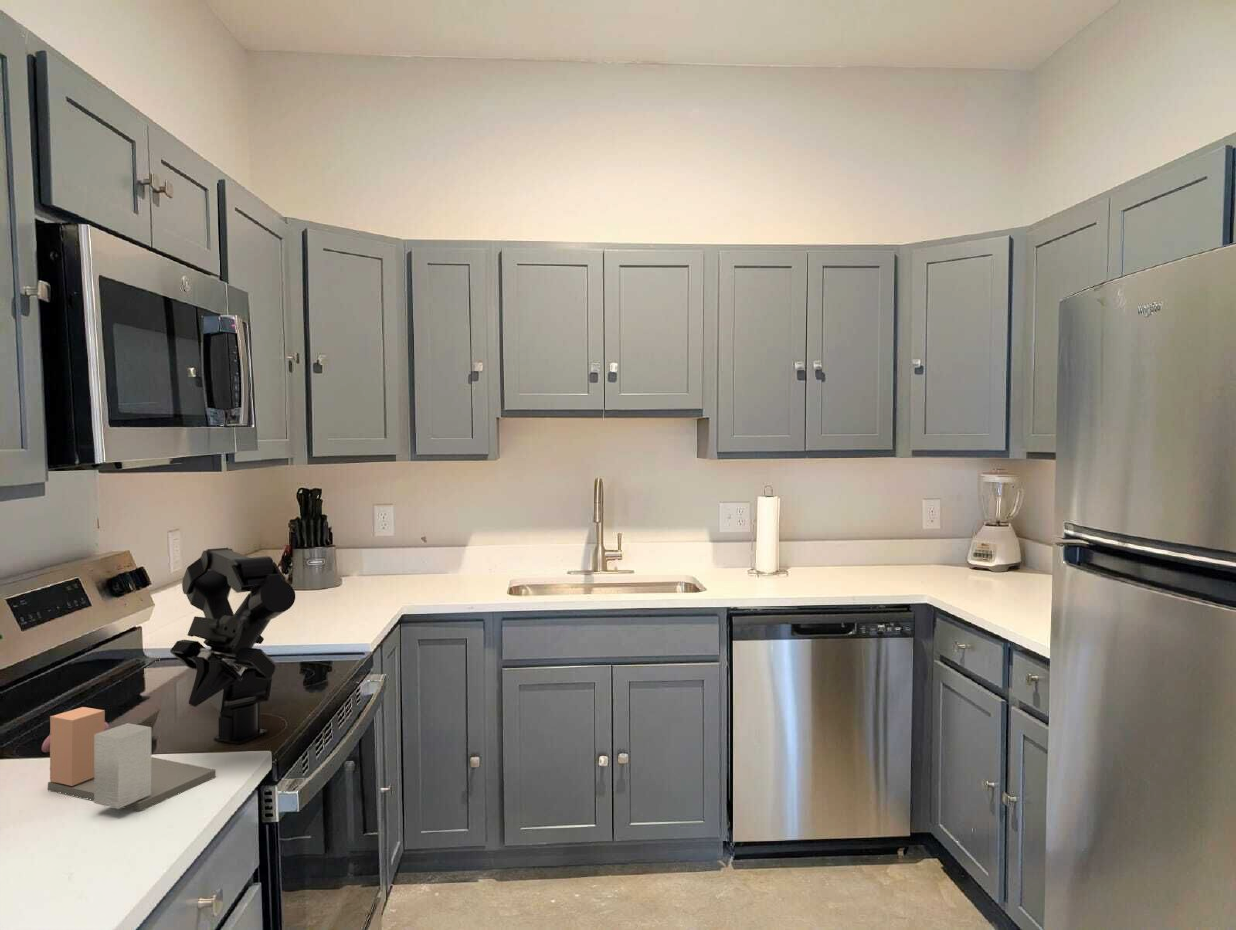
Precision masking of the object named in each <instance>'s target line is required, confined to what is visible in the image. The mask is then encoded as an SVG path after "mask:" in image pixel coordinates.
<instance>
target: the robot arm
mask: <svg viewBox="0 0 1236 930" xmlns="http://www.w3.org/2000/svg"><path fill="white" fill-rule="evenodd" d="M286 579H287V578H286V576H285V575H284V574H283V572H282V571H281V570H280V569H279V567H278V565H277V563H276V562H275V561H274V560H273V558H272V557H271V556H269V555H268V556H267V555H265V556H254V557H249V556H246V555H243V554H241V553H240V552H236V551H234V549H232V548H229V547H219V548H218V547H216V548H208V549H206V550H203V551H202V553H201V555H200V557H199V558H198V559H197V560H195V561H193V563H191V564H190V565H189V566H187V567H186V570H185V572H184V574H183V577H182V581H181V587H182V593H183V594H184V595H186V597H187V599H188V601H189V604H190V605H191V606H193V607H195V608H196V609H198V610H200V611H202V612H203V615H204V617H203V616H193V619H192V622H191V624H190V627H189V629H188V632H187V636H188V637H191V638H193V637H196V638H200V639H204V640H203V644H204V645H206V646H207V647H209V648H206V647H205V646H204V645H202V643H201V642H199V641H198V640H190V639H181V640H177V641H176V642H175V643H174V645H173V646H172V647H171V649H170V650H169V653H171V654H172V655H173V656H174V657H175V658H176V659H178V660H179V661H180V662H182V663H183V664H184V665H185V666H186V667H188V668H189V669H190V670H193V671H196V674H195V679H194V682H193V686H192V690H191V693H190V695H189V700H188V705H189V706H191V707H193V708H194V707H198V706H199V705H201V704H202V703H204V702H205V701H208V700H209V699H210V698H211V705H212V706H213V708H215V709H216V710H218V711H219V716H218V734H217V735H215V736H214V737H213V741H219V742H223V743H224V742H225V743H230V744H237V745H240V744H244V743H246V742H248V741H250V740H253V739H255V738H257V737H259V736H262V735H265V734H267V731H268V730H267V729H263V728H261V703H263V702H265V703H266V702H269V699H270V696H271V689H272V682H273V676H274V674H275V672H276V662H275V661H274V660H273V659H272V658H271V657H270V656H269V655H268V654H267V653H266V652H265V651H264V650H263V649H261V648H257V647H256V648H255V647H254V646H255V644H260V645H261V644H262V643H263V642H264V639H265V638H264V637H263V636H262V633H263V632H264V631H265V629H266V628H267V626H268V625H269V623H270V622H271V620H274V619H275V618H277V617H279V616H280V615H282V614H283V613H285V612H286V611H288V610H290V609H291V607H292V606H293V605H294V603H295V601H296V591H295V590H294V588H293V586H292V585H291V584H290V583H289V582H287V581H286ZM231 589H232V590H233V591H235V592H236V593H246V592H250V593H248V594H247V595H246V597H245V598H244V599H243V601H242V602H241V604H240V605H239V606H238V608H237V609H236V611H235V612H234V611H233V607H232V606H231V603H230V600H229V596H230V593H231Z"/></svg>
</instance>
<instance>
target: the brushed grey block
mask: <svg viewBox="0 0 1236 930" xmlns="http://www.w3.org/2000/svg"><path fill="white" fill-rule="evenodd" d="M151 757H152V727H151V726H148V725H147V726H146V725H141V724H140V725H139V724H134V723H129V722H127V723H124V724H121V725H118V726H115V727H112V728H109V730H106V731H103V732H100V733H97V734H94V801H93V802H94V803H93V804H95V805H101V806H104V807H109V808H113V809H117V810H119V809H122V807H124V806H126V805H128V804H131V803H133V802H135V801H137V800H140V799H142V798H144V797H147V796H149V795H151Z"/></svg>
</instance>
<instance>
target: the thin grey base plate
mask: <svg viewBox="0 0 1236 930" xmlns="http://www.w3.org/2000/svg"><path fill="white" fill-rule="evenodd" d="M216 777H217V775H216V769H214V768H210V767H204V766H199V765H192V764H188V763H184V762H178V761H174V760H173V761H172V760H167V759H165V758H164V759H162V758H159V757H158V758H157V757H153V756H151V795H149V796H147V797H144V798H142V799H140V800H137V801H135V802H133V803H131V804H128V805H126V806H124V808H123V807H121V809H125V810H126V809H127V810H130V809H131V810H130V811H134V812H135V811H136V812H142V811H144V810H146V809H148V808H150V807H152V805H153V806H154V805H157V804H160V803H161V802H163V801H166V800H167V799H166V798H168V799H171V798H172V796H173V797H175V796H177V795H179V794H181V793H183V792H186V791H188V790H191V789H192V788H194V787H197V786H199V785H201V784H203V783H205V782H207V781H210V780H212V779H214V778H216ZM48 789H49V790H50V792H53V791H54V793H58V792H61V793H60V794H62V793H64V794H63V795H66V794H67V796H71V795H74V796H73V797H75V796H78V797H77V798H79V797H81V798H80V799H83V798H88V799H91V800H90V801H92V800H94V778H91V779H89V780H86V781H84V782H81V783H78V784H76V785H73V786H70V785H65V784H61V783H57V782H52V781H48V782H47V790H48ZM49 790H48V791H49ZM185 790H186V791H185ZM180 792H181V793H180ZM65 793H66V794H65ZM178 793H179V794H178ZM176 794H177V795H176ZM174 795H175V796H174ZM88 799H87V800H88ZM165 799H166V800H165Z"/></svg>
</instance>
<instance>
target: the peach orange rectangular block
mask: <svg viewBox="0 0 1236 930" xmlns="http://www.w3.org/2000/svg"><path fill="white" fill-rule="evenodd" d="M105 711H106V710H105V709H97V708H91V707H86V706H81V707H78V708H75V709H71V710H67V711H64V712H61V713H57V714H55V715H51V716H49V719H50V720H49V721H50V722H49V724H50V725H49V727H50V732H49V735H50V752H49V782H51V781H52V782H57V783H61V784H65V785H70V786H73V785H76V784H78V783H81V782H84V781H86V780H89V779H91V778H94V734H97V733H100V732H103V731H105V722H106V718H105V716H106V712H105Z"/></svg>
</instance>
